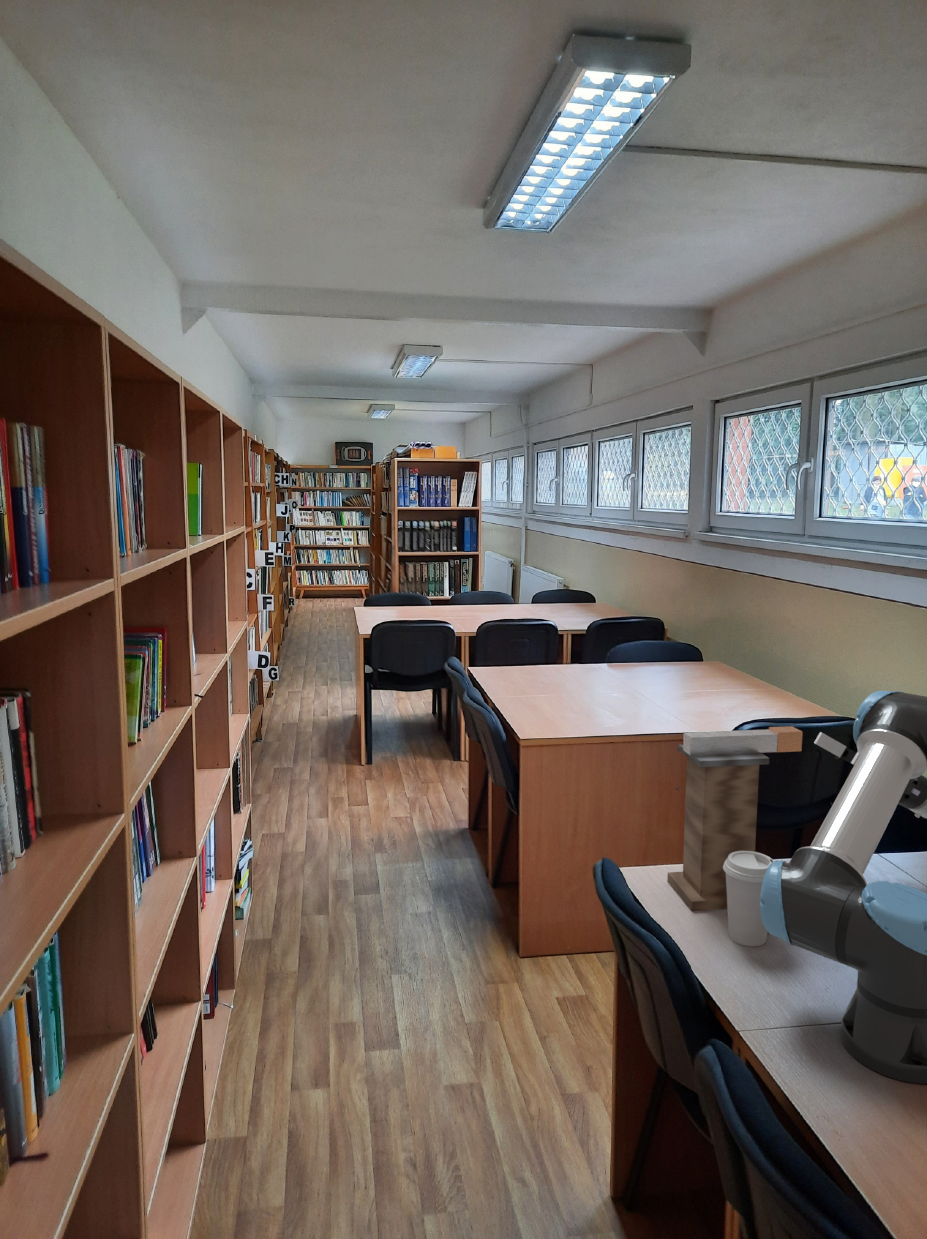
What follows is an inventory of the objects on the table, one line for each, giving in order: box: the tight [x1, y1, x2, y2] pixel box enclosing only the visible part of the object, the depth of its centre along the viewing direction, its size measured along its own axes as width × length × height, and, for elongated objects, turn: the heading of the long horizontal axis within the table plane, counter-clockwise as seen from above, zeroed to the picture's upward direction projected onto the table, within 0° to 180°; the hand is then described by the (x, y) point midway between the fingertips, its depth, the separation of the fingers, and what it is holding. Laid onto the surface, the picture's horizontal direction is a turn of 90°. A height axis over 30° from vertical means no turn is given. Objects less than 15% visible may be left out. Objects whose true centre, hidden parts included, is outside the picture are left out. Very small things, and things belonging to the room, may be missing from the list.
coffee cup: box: [723, 851, 774, 947], centre depth 152 cm, size 10×10×15 cm
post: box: [667, 744, 770, 912], centre depth 168 cm, size 16×13×30 cm
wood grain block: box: [682, 725, 804, 755], centre depth 166 cm, size 23×4×4 cm, turn 97°
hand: (835, 747), depth 168 cm, fingers open, 13 cm apart
